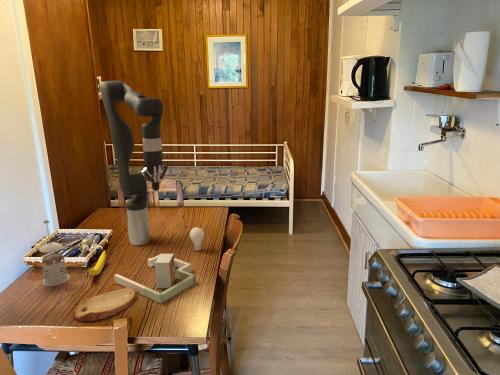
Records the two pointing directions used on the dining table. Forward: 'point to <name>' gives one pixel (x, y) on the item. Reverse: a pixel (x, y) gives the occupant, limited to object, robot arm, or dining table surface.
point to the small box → (165, 270)
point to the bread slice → (104, 305)
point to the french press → (53, 272)
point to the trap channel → (183, 273)
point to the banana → (98, 265)
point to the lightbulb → (197, 237)
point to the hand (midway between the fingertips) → (155, 190)
